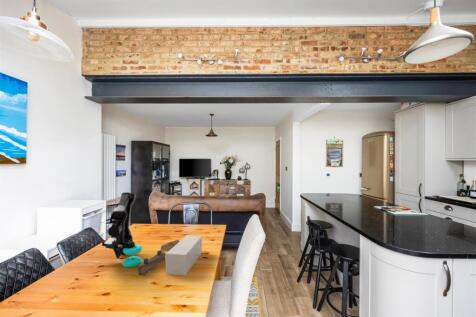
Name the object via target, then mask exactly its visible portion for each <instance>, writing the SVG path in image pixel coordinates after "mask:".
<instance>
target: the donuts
mask: <svg viewBox="0 0 476 317" xmlns="http://www.w3.org/2000/svg"><path fill="white" fill-rule="evenodd" d="M142 250H143V247H142V246H141V245H140V244H135V246H134V247H132V248H130V249H128V248H124V249H123V253H124V254H126V255H127V256H129V257H127V258H124V259H123V261H122V266H124V267H125V268H134V267H138V265H140V264H141V263H143V260H142V258H141V257H140V256H136V255H138V254H140V253H141V252H142ZM126 255H125V256H126Z"/></svg>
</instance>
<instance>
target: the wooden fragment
mask: <svg viewBox="0 0 476 317" xmlns="http://www.w3.org/2000/svg"><path fill="white" fill-rule="evenodd" d="M180 241H181V240H180V239H176V240H172V241H169V242H167V243H164V244H162V245H161V246H160V250H161V252H165V253H167V252H168V251H170V250H171V249H172V248H173V247H174V246H175V245H176V244H177V243H179V242H180Z"/></svg>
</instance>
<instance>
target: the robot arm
mask: <svg viewBox="0 0 476 317" xmlns="http://www.w3.org/2000/svg"><path fill="white" fill-rule="evenodd" d="M136 199H137V194H136V193H135V192H130V191H129V192H125V191H123V192H121V194H120V199H119V202H118V205H117V206H116V207H115V208H114V209H113V211H112V212H111V213H110V219H109V225H110V224H111V226H110V227H109V228H108V230H107V234H108V235H109V236H110V238H107V239H105V240H102V242H101V245H102V247H105V249H109V250H113V252H114V255H115V258H116V259H120V258H121V255H122V256H126V254H124V253H123V249H124V248H128V249H130V248H132V247H134V246H135V245H136V242H135V241H134V240H133V239H134V238H133V235H132V231H131V229H130V221H131V214H132V206H134V204H135V203H136V202H135V201H136Z"/></svg>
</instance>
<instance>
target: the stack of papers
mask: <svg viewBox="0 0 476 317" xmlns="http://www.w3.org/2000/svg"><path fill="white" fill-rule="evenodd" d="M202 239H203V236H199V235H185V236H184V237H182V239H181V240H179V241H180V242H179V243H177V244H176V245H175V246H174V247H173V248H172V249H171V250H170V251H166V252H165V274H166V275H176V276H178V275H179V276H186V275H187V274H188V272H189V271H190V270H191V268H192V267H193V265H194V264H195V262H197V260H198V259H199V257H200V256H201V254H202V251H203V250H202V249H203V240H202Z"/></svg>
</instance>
